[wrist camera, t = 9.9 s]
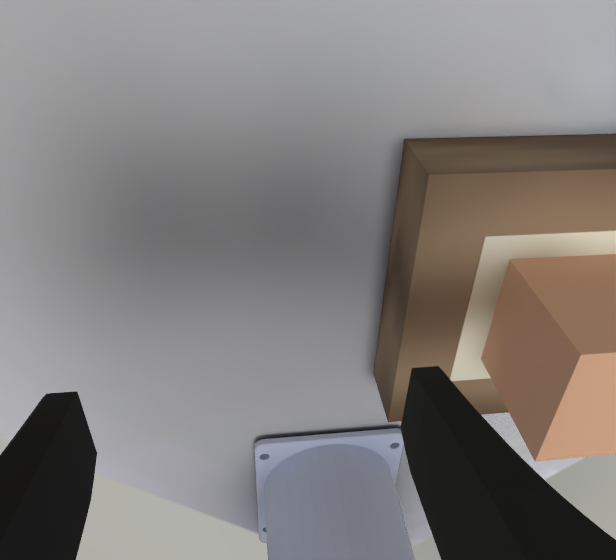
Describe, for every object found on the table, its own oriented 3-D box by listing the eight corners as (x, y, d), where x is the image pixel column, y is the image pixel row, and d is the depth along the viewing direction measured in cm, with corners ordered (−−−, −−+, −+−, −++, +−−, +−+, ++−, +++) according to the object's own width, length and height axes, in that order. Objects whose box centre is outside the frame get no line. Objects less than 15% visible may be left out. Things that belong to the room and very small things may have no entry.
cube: (593, 351, 23) (669, 448, 19) (480, 359, 23) (534, 461, 19) (637, 253, 21) (737, 344, 17) (509, 259, 20) (581, 354, 16)
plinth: (601, 357, 28) (637, 402, 26) (373, 373, 27) (388, 422, 25) (705, 132, 21) (767, 164, 19) (404, 139, 20) (429, 175, 18)
